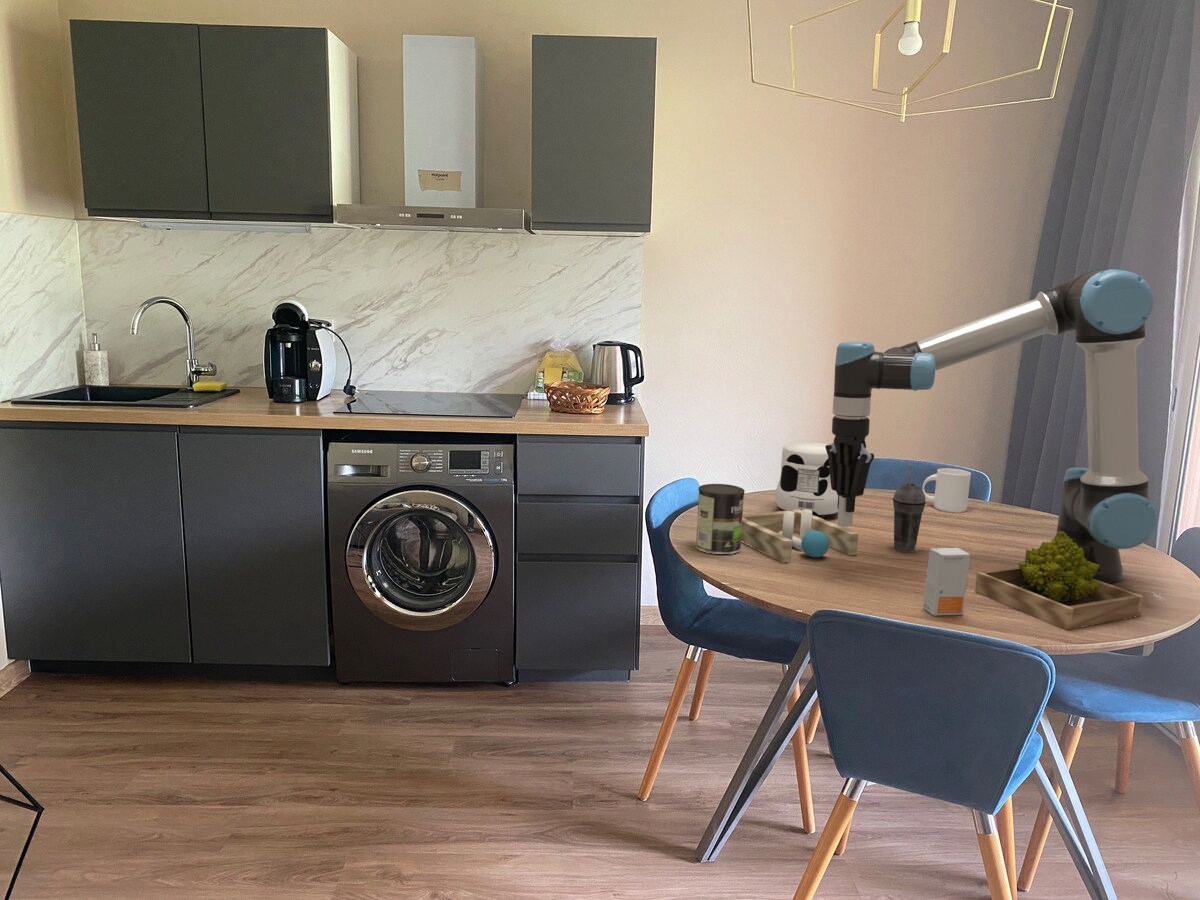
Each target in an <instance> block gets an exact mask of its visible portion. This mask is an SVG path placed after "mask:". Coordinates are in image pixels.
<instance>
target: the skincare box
mask: <svg viewBox="0 0 1200 900" xmlns="http://www.w3.org/2000/svg"><path fill="white" fill-rule="evenodd" d="M970 560H971V554H970V553H968V552H967V551H965V550H963V549H961V548H960V547H942V548H941V547H940V548H929V552H928V561H927V562H928V563H927V569H926V577H925V578H926V579H925V585H924V586H925V587H924V594H923V595H924V596H923V603H922V609H924V610H925V611H927V612H928V613H930V614H931V615H932V616H935V617H936V616H963V614H964V606H965V598H966V592H967V591H966V590H967V584H968V575H969V568H970V562H971V561H970Z"/></svg>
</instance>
